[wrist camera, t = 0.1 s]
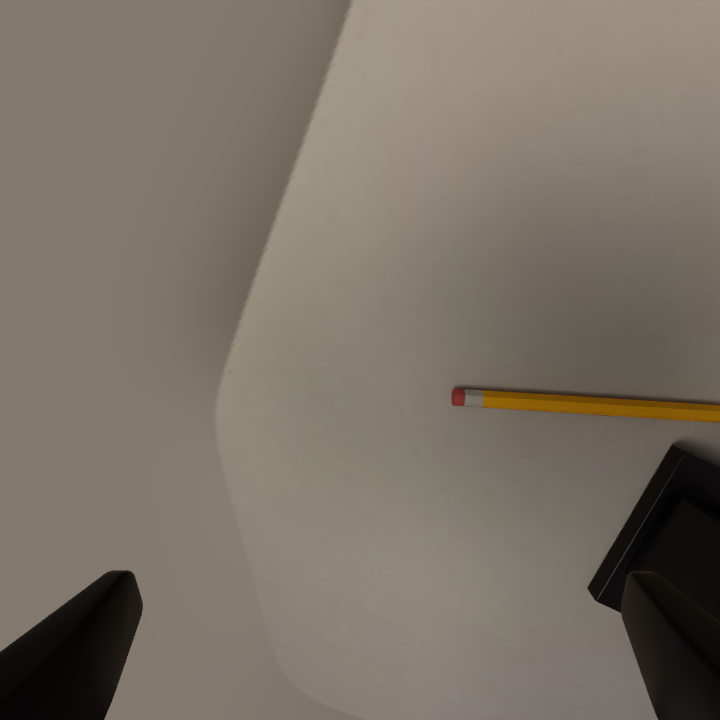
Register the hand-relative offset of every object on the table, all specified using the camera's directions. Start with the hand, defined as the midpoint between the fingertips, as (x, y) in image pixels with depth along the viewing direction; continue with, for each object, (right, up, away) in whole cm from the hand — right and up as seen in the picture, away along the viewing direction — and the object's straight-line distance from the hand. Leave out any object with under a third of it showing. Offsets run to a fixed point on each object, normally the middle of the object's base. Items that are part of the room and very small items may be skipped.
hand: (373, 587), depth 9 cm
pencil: (+11, +2, +13) cm, 17 cm away
